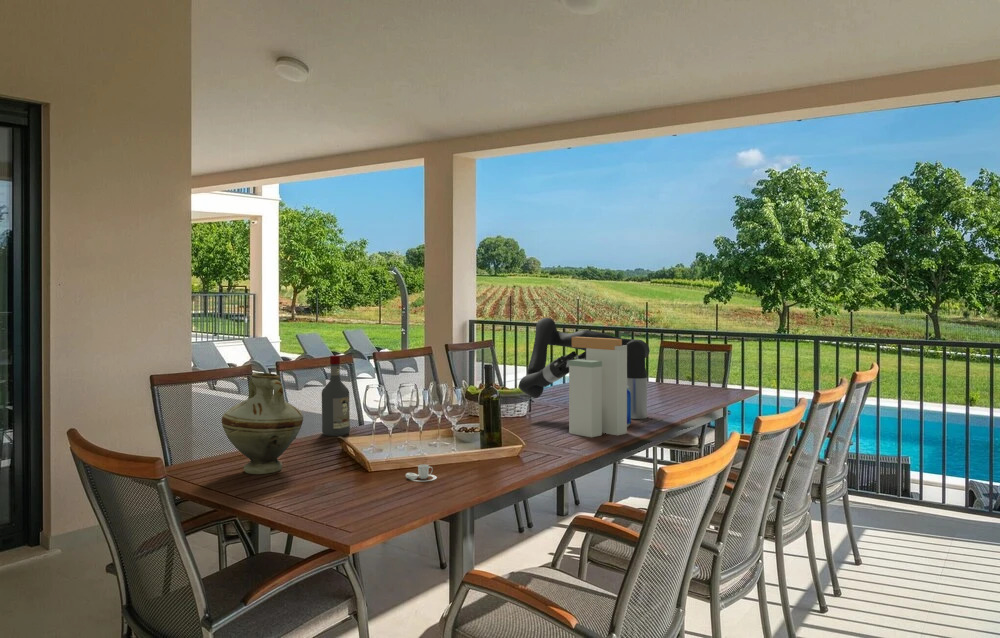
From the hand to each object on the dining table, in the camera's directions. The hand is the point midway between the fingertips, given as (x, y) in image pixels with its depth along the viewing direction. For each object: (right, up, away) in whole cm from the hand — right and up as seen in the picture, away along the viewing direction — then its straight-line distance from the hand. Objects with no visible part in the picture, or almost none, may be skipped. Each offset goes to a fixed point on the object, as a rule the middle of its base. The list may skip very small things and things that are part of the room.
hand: (582, 352), depth 286 cm
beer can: (+16, -30, +5) cm, 34 cm away
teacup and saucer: (-57, -34, -73) cm, 98 cm away
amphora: (-105, -33, -65) cm, 128 cm away
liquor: (-96, -31, -9) cm, 101 cm away
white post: (+8, -30, -7) cm, 32 cm away
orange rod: (+5, +2, -5) cm, 7 cm away
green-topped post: (0, -30, -12) cm, 33 cm away
